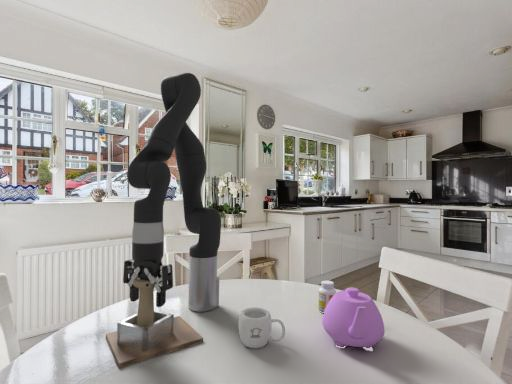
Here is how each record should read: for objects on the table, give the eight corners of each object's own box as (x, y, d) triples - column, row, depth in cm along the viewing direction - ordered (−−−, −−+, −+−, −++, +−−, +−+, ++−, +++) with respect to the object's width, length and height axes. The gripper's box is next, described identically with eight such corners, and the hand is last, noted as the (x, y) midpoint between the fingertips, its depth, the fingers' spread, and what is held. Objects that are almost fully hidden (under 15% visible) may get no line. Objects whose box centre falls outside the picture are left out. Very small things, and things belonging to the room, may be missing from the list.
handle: (159, 341, 73) (161, 280, 74) (131, 345, 71) (133, 282, 71) (157, 332, 78) (159, 275, 78) (131, 336, 75) (133, 277, 76)
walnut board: (179, 319, 88) (179, 315, 88) (203, 341, 76) (203, 337, 76) (105, 337, 77) (105, 333, 77) (118, 368, 64) (118, 363, 64)
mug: (236, 351, 71) (236, 318, 71) (239, 334, 80) (240, 305, 80) (285, 353, 71) (286, 321, 71) (284, 336, 79) (284, 307, 79)
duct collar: (147, 326, 81) (147, 308, 81) (173, 333, 78) (173, 314, 78) (117, 343, 72) (117, 322, 72) (144, 351, 69) (145, 330, 69)
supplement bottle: (335, 309, 98) (336, 280, 98) (335, 316, 93) (336, 285, 93) (318, 307, 100) (319, 279, 100) (318, 314, 94) (318, 283, 94)
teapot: (398, 371, 65) (399, 308, 65) (325, 363, 67) (326, 303, 67) (373, 326, 86) (374, 279, 86) (319, 321, 89) (320, 276, 89)
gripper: (180, 239, 75) (179, 303, 75) (138, 235, 81) (137, 294, 81) (159, 244, 69) (158, 313, 69) (115, 239, 74) (114, 303, 74)
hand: (147, 303), depth 75 cm, fingers open, 8 cm apart
